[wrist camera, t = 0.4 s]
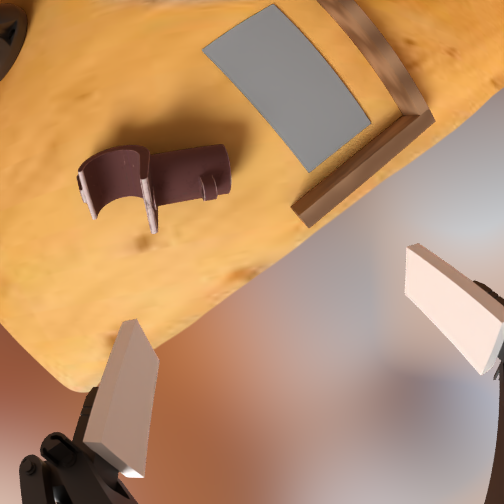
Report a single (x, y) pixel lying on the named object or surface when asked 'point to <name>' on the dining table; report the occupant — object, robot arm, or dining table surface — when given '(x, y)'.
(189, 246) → the dining table surface
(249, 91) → the mat
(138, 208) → the dining table surface
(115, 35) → the dining table surface
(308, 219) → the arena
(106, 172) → the bracket
